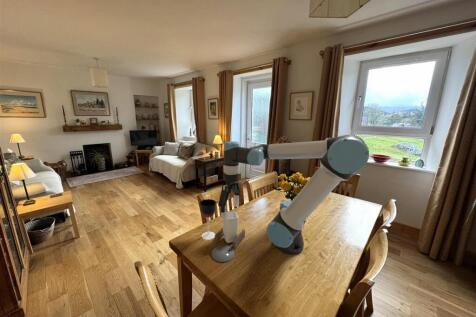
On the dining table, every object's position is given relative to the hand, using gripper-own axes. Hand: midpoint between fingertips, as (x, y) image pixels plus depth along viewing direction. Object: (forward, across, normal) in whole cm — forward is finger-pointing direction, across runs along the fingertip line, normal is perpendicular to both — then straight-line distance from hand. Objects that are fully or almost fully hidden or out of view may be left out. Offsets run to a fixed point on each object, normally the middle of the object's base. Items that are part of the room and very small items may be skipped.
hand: (230, 211), depth 99 cm
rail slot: (+17, 0, 0) cm, 17 cm away
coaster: (+16, +11, +2) cm, 20 cm away
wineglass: (+17, +2, -12) cm, 21 cm away
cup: (+17, 0, 0) cm, 17 cm away
